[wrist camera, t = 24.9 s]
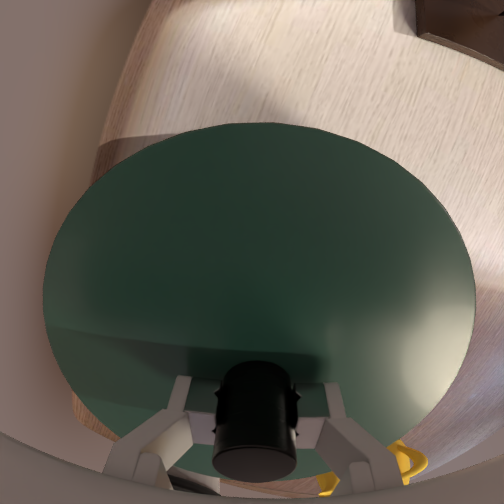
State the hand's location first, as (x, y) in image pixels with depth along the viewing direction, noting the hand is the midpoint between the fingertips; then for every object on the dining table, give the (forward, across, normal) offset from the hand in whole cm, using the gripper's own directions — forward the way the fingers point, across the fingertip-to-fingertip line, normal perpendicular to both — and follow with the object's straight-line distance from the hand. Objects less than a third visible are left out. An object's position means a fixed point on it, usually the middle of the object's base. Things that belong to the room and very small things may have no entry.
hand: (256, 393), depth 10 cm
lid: (+1, 0, 0) cm, 1 cm away
